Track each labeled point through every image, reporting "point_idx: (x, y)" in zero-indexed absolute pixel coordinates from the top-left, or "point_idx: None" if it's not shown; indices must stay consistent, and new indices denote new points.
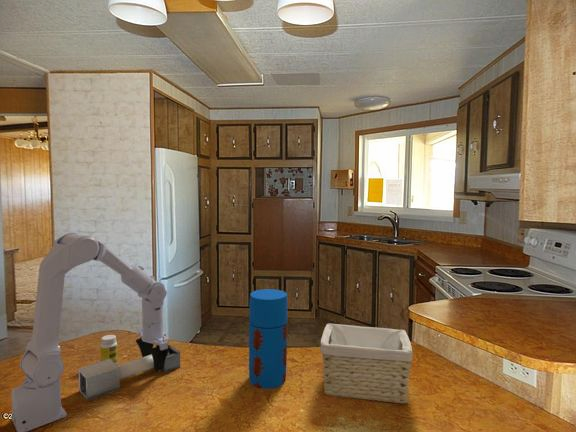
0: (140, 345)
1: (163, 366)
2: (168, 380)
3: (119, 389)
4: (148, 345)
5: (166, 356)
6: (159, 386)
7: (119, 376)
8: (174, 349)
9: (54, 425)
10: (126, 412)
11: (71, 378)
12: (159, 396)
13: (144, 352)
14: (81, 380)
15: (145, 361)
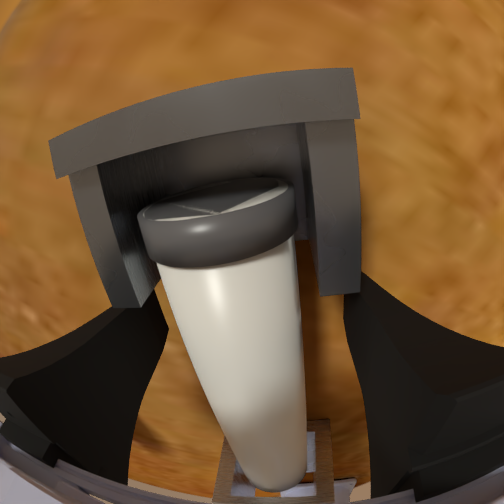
0: (127, 457)
1: (369, 278)
2: (433, 246)
3: (329, 420)
4: (99, 397)
5: (329, 261)
6: (444, 305)
7: (332, 466)
8: (222, 109)
9: (365, 481)
10: None
11: (156, 452)
12: (494, 323)
13: (135, 380)
14: (254, 494)
15: (292, 411)
